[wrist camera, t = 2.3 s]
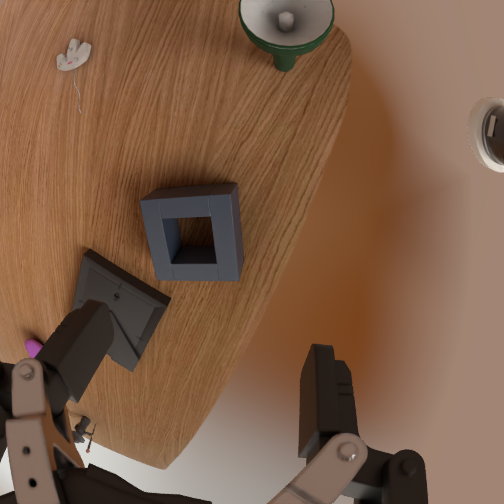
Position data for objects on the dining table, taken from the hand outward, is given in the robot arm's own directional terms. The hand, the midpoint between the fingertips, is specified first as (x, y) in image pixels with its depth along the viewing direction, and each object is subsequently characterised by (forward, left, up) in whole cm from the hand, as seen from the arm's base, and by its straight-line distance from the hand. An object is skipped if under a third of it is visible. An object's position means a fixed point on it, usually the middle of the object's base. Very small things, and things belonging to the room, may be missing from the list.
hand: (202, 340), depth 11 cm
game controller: (+24, -18, -28) cm, 41 cm away
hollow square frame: (+8, +6, -28) cm, 30 cm away
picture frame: (+27, +22, -28) cm, 45 cm away
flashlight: (-4, -14, -28) cm, 31 cm away
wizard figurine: (+60, +72, -28) cm, 98 cm away
